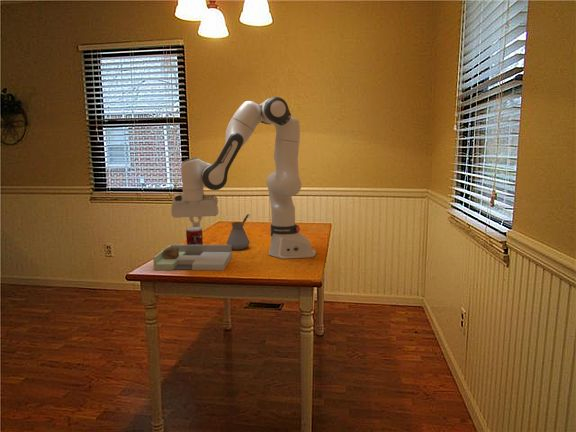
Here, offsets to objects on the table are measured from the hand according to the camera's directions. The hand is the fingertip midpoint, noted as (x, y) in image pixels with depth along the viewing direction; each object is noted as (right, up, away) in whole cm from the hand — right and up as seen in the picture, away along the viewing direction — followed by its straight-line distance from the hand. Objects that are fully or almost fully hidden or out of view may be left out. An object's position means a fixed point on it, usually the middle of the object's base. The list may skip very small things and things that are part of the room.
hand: (196, 226), depth 177 cm
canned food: (-5, -12, +20) cm, 24 cm away
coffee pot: (+17, -11, +29) cm, 35 cm away
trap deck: (0, -16, -1) cm, 16 cm away
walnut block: (-11, -14, -2) cm, 17 cm away
